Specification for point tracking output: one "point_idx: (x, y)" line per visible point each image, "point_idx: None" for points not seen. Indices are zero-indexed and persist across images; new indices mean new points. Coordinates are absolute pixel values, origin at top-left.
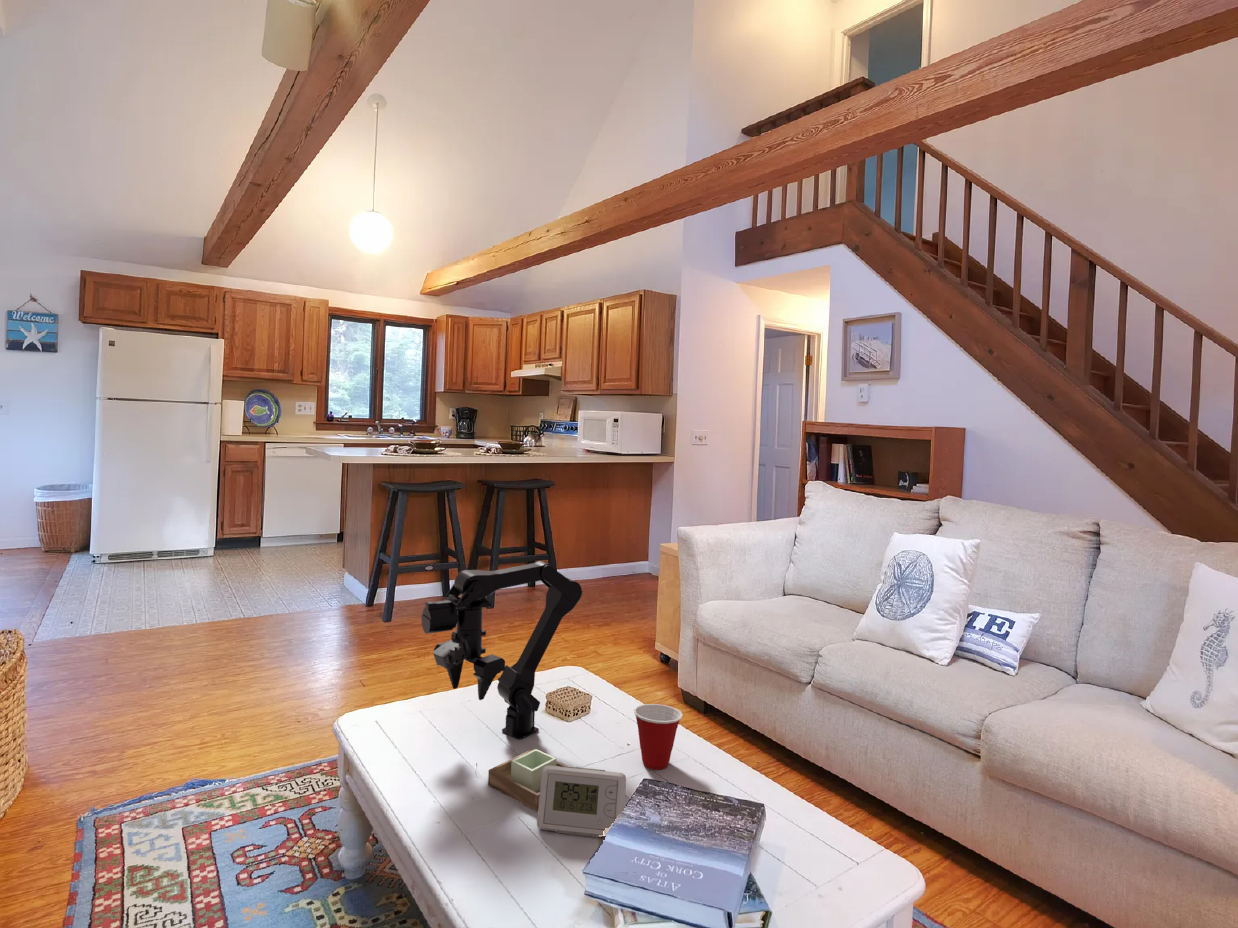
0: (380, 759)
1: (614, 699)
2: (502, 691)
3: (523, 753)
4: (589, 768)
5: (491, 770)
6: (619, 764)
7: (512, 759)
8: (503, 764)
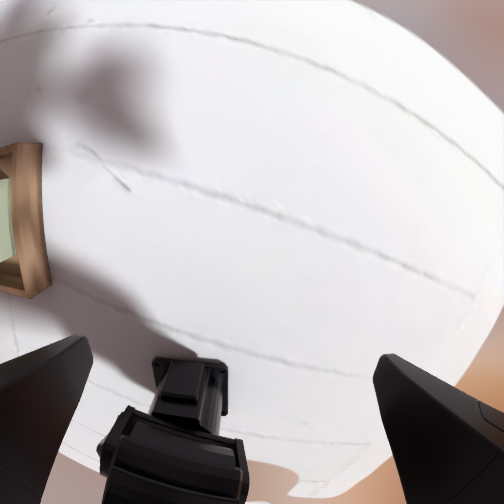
0: (367, 35)
1: None
2: (186, 462)
3: (24, 269)
4: None
5: (13, 147)
6: (5, 359)
7: (16, 226)
8: (13, 191)
